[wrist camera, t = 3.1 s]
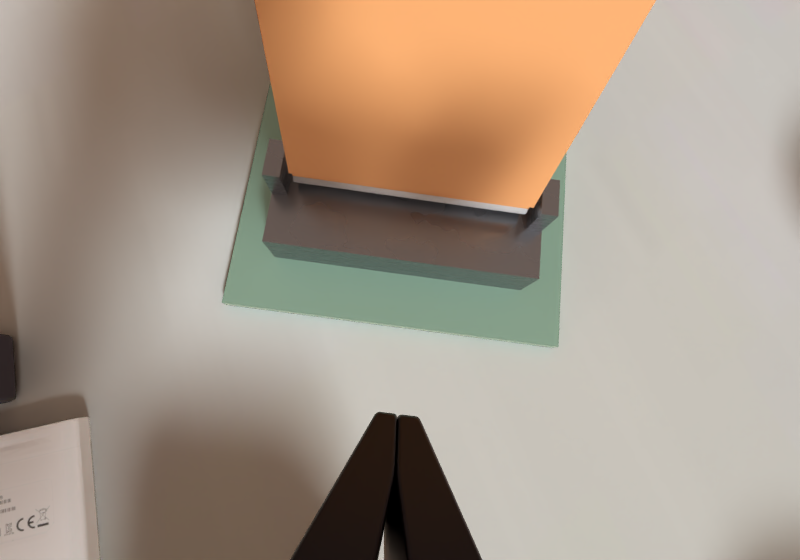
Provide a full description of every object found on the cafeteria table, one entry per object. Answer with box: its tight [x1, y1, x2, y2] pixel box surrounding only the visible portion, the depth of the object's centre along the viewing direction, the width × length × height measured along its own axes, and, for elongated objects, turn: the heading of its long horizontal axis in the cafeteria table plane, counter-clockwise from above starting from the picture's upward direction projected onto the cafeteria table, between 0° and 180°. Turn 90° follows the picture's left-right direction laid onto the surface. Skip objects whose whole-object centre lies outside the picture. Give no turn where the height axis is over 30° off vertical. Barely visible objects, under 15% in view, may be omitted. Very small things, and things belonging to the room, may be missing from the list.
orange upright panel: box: [254, 0, 656, 214], centre depth 14 cm, size 2×10×11 cm, turn 80°
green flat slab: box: [222, 82, 566, 348], centre depth 23 cm, size 22×16×1 cm
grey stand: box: [262, 139, 560, 290], centre depth 18 cm, size 17×12×10 cm
